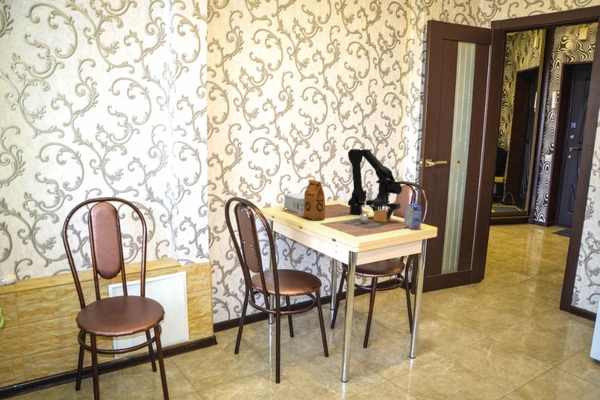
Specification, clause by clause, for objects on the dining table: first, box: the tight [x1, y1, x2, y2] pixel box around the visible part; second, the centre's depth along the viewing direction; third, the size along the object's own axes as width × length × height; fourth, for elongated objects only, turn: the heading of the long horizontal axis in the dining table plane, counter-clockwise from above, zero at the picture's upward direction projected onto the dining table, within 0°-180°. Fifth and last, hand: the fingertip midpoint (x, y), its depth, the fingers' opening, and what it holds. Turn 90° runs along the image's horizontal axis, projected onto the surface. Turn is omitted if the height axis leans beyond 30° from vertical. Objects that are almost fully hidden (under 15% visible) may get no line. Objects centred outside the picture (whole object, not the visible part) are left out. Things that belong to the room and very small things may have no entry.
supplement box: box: [283, 192, 304, 214], centre depth 278 cm, size 17×13×9 cm
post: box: [360, 213, 369, 224], centre depth 240 cm, size 4×4×5 cm
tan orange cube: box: [373, 208, 392, 223], centre depth 250 cm, size 7×7×6 cm
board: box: [341, 218, 388, 230], centre depth 240 cm, size 20×16×1 cm
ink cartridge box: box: [403, 200, 423, 230], centre depth 238 cm, size 10×6×14 cm, turn 11°
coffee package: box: [303, 179, 326, 221], centre depth 253 cm, size 10×12×22 cm
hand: (382, 219), depth 250 cm, fingers closed on tan orange cube, 7 cm apart
